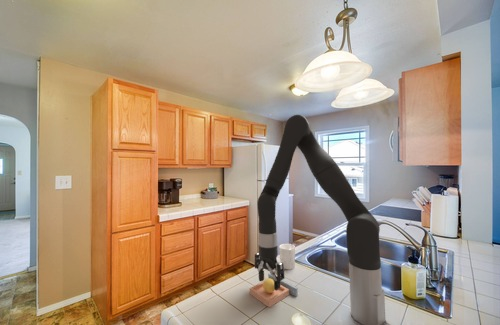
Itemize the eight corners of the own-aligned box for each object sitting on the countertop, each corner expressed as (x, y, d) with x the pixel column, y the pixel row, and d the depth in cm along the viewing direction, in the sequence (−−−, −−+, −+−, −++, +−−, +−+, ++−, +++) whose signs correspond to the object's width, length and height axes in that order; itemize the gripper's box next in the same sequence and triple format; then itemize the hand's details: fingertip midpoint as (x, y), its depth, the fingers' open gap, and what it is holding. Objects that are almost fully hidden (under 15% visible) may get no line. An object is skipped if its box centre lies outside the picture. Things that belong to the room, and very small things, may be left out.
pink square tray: (289, 294, 81) (289, 289, 81) (269, 307, 74) (269, 301, 74) (269, 283, 89) (269, 278, 89) (249, 293, 82) (249, 288, 82)
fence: (297, 295, 80) (297, 287, 80) (296, 296, 79) (295, 288, 79) (270, 280, 92) (269, 273, 92) (268, 280, 91) (268, 273, 91)
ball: (278, 292, 81) (278, 279, 81) (269, 297, 78) (268, 284, 78) (269, 286, 85) (269, 274, 85) (260, 291, 82) (260, 278, 82)
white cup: (294, 263, 107) (294, 243, 108) (296, 270, 99) (296, 249, 100) (279, 262, 108) (278, 243, 108) (280, 270, 100) (279, 249, 100)
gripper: (288, 245, 79) (289, 289, 78) (262, 236, 90) (263, 274, 89) (274, 251, 74) (275, 297, 74) (249, 241, 85) (250, 281, 85)
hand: (269, 284), depth 81 cm, fingers open, 8 cm apart
